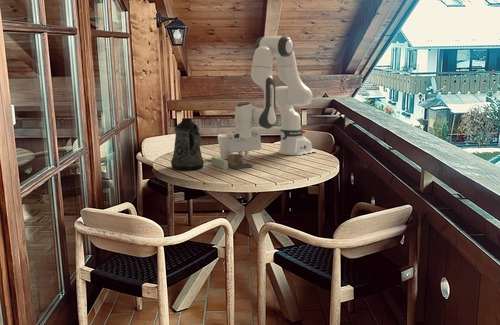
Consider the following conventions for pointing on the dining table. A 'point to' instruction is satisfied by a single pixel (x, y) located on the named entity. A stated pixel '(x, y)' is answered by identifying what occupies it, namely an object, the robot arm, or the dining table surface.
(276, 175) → the dining table surface
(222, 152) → the foam cup
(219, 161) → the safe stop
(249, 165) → the trap pair
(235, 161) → the walnut block
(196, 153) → the beer stein
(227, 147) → the robot arm
